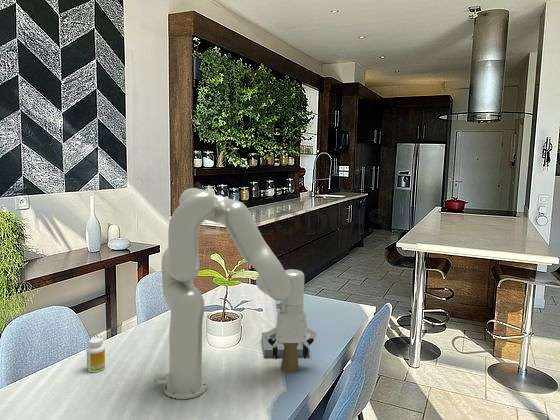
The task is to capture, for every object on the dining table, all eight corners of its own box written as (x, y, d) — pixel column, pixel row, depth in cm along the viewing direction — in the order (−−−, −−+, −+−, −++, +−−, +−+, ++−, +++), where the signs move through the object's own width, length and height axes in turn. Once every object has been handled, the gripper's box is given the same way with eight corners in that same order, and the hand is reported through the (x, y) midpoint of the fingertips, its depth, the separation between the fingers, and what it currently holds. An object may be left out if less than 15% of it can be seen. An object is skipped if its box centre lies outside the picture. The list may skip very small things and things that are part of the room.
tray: (264, 358, 155) (264, 349, 155) (261, 339, 171) (261, 332, 171) (309, 357, 157) (309, 349, 157) (302, 339, 173) (302, 332, 173)
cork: (297, 373, 145) (298, 341, 144) (279, 371, 146) (280, 339, 145) (300, 365, 151) (301, 334, 150) (282, 363, 152) (283, 332, 151)
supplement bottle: (108, 367, 145) (108, 338, 144) (95, 374, 140) (94, 344, 139) (96, 363, 147) (96, 335, 146) (83, 370, 143) (82, 341, 142)
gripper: (266, 311, 142) (265, 362, 143) (319, 311, 143) (317, 362, 145) (264, 304, 149) (263, 352, 151) (315, 303, 151) (313, 352, 153)
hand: (290, 357), depth 148 cm, fingers open, 9 cm apart
